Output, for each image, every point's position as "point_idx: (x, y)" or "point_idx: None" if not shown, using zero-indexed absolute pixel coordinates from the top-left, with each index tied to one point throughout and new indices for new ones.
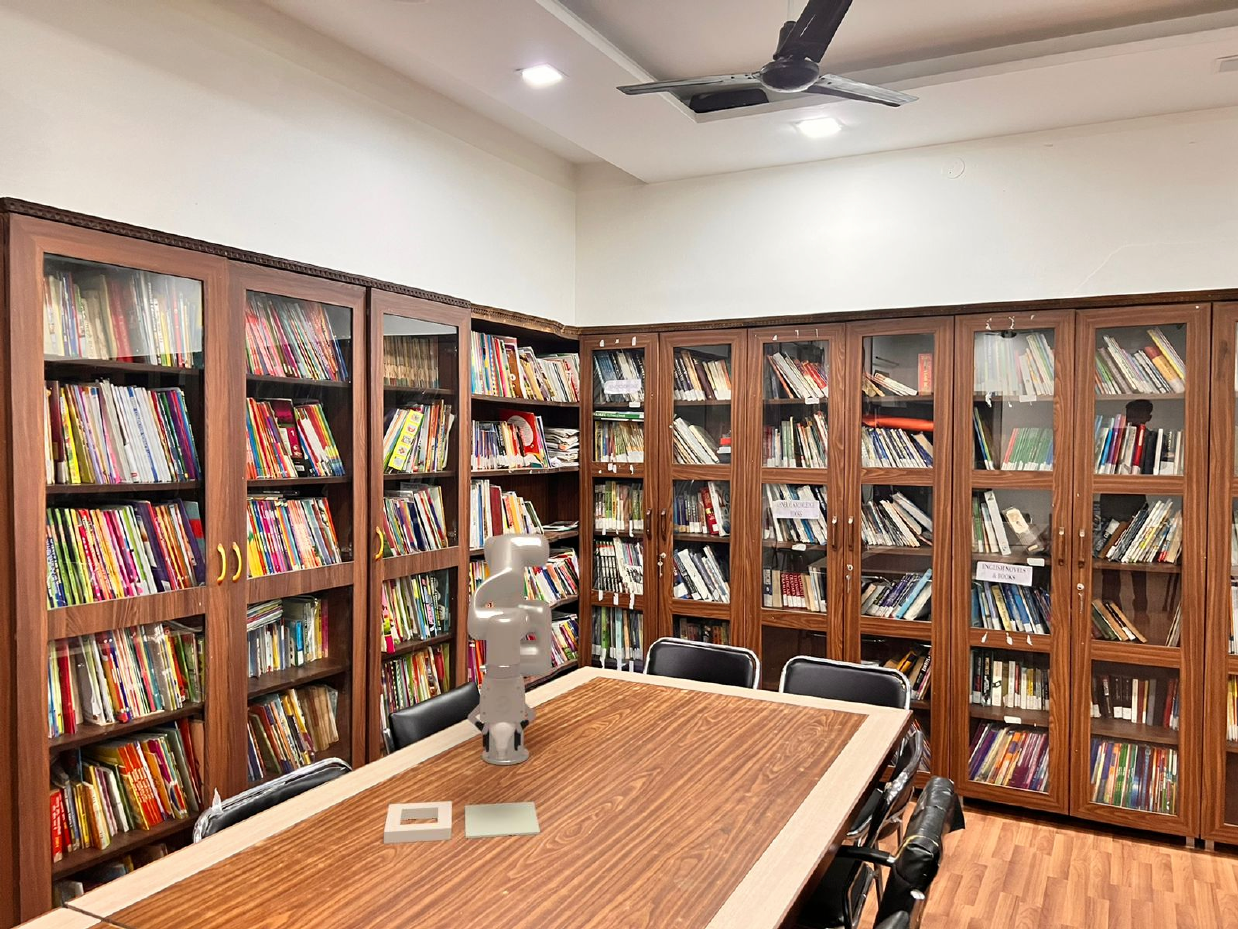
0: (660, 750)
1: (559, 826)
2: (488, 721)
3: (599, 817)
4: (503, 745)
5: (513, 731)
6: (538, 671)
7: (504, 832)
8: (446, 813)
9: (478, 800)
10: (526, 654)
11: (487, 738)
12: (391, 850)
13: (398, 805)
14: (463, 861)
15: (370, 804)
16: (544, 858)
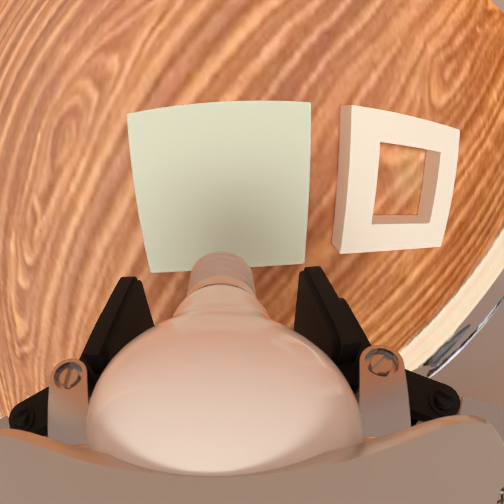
0: None
1: (88, 156)
2: (433, 443)
3: (29, 203)
4: (206, 293)
5: (104, 369)
6: None
7: (213, 110)
8: (359, 188)
9: (272, 292)
10: None
11: (341, 323)
12: (435, 98)
13: (431, 240)
14: (310, 9)
15: (438, 278)
16: (130, 11)
